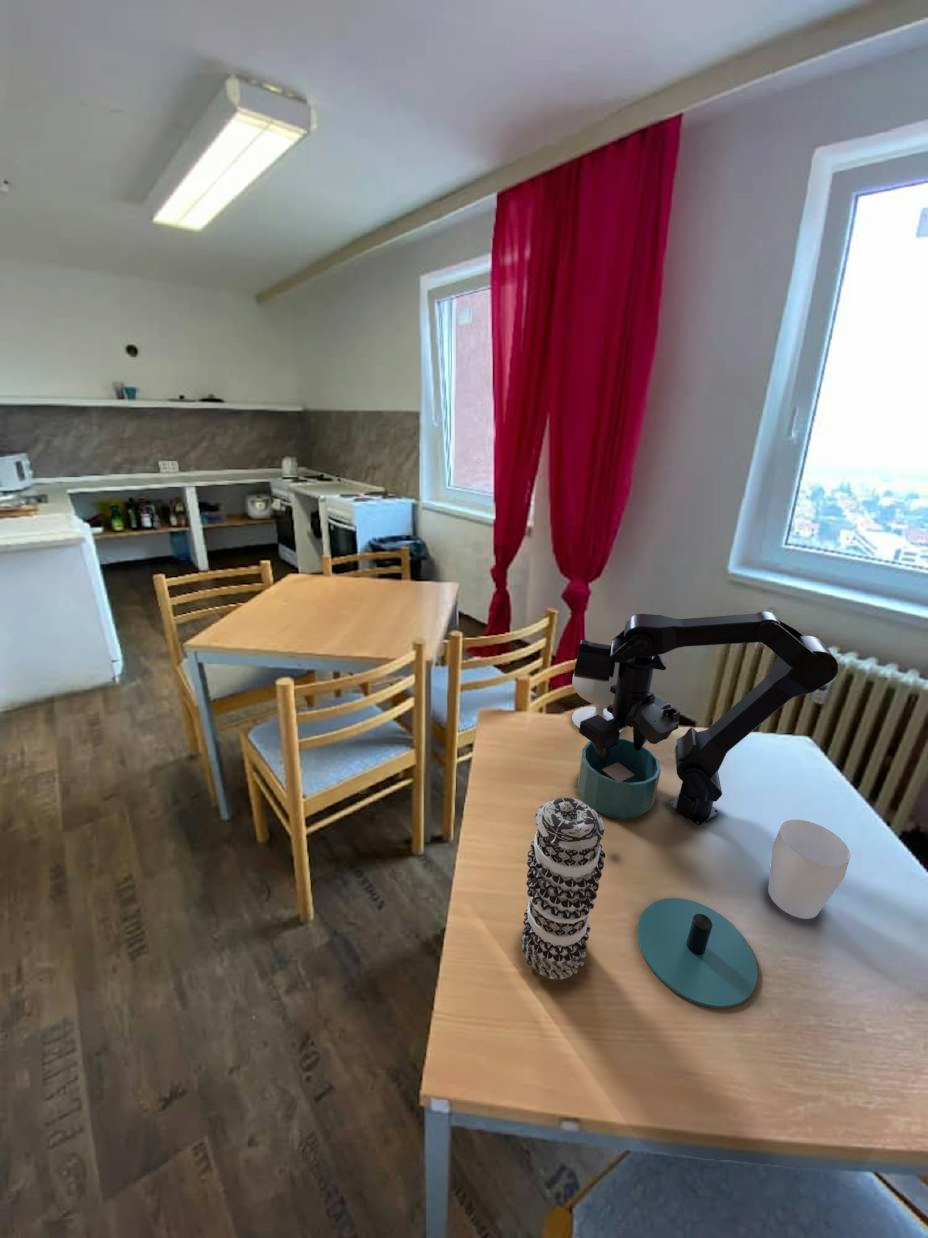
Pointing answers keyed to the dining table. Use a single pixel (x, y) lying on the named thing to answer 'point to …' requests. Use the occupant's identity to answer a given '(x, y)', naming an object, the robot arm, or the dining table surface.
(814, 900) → the cup
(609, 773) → the block
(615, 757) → the bin
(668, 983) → the bin lid
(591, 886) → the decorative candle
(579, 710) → the chalice
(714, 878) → the dining table surface
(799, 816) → the dining table surface
